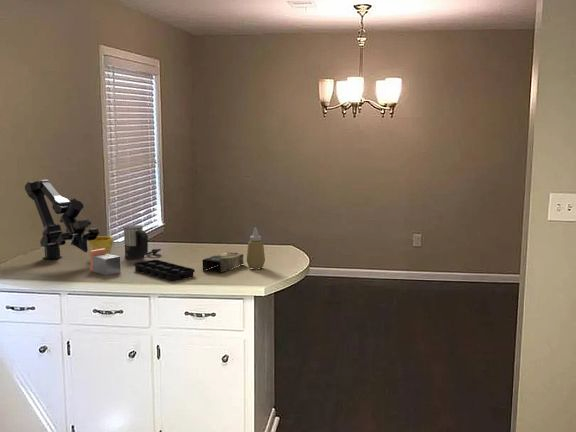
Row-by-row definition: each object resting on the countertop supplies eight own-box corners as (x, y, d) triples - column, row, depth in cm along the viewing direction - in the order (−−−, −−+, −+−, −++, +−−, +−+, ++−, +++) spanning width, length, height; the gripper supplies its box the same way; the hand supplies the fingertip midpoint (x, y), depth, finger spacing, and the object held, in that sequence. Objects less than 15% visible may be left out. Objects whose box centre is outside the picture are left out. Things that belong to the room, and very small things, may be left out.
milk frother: (120, 258, 318) (118, 227, 315) (140, 252, 332) (138, 222, 330) (145, 261, 312) (144, 229, 310) (164, 254, 326) (163, 224, 324)
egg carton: (152, 266, 302) (151, 258, 302) (204, 274, 287) (204, 266, 286) (123, 274, 288) (122, 265, 287) (176, 283, 272) (176, 274, 271)
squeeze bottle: (267, 267, 298) (267, 226, 296) (261, 271, 291) (260, 230, 288) (250, 266, 301) (250, 226, 298) (243, 269, 293) (243, 229, 291)
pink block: (90, 270, 292) (89, 250, 290) (104, 267, 297) (103, 248, 296) (104, 274, 285) (103, 254, 284) (118, 271, 290) (117, 251, 289)
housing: (93, 271, 291) (92, 256, 289) (107, 269, 296) (106, 253, 295) (106, 275, 284) (105, 259, 283) (120, 272, 289) (120, 256, 288)
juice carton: (227, 263, 308) (227, 249, 307) (245, 265, 304) (245, 252, 303) (201, 272, 291) (201, 258, 290) (220, 275, 286) (220, 261, 285)
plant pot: (107, 261, 311) (106, 240, 309) (86, 260, 313) (85, 239, 312) (117, 256, 321) (116, 236, 319) (97, 256, 323) (96, 235, 322)
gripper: (59, 215, 292) (74, 243, 287) (96, 210, 306) (111, 237, 301) (50, 230, 299) (65, 259, 293) (87, 225, 313) (102, 252, 307)
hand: (86, 251), depth 299 cm, fingers closed
